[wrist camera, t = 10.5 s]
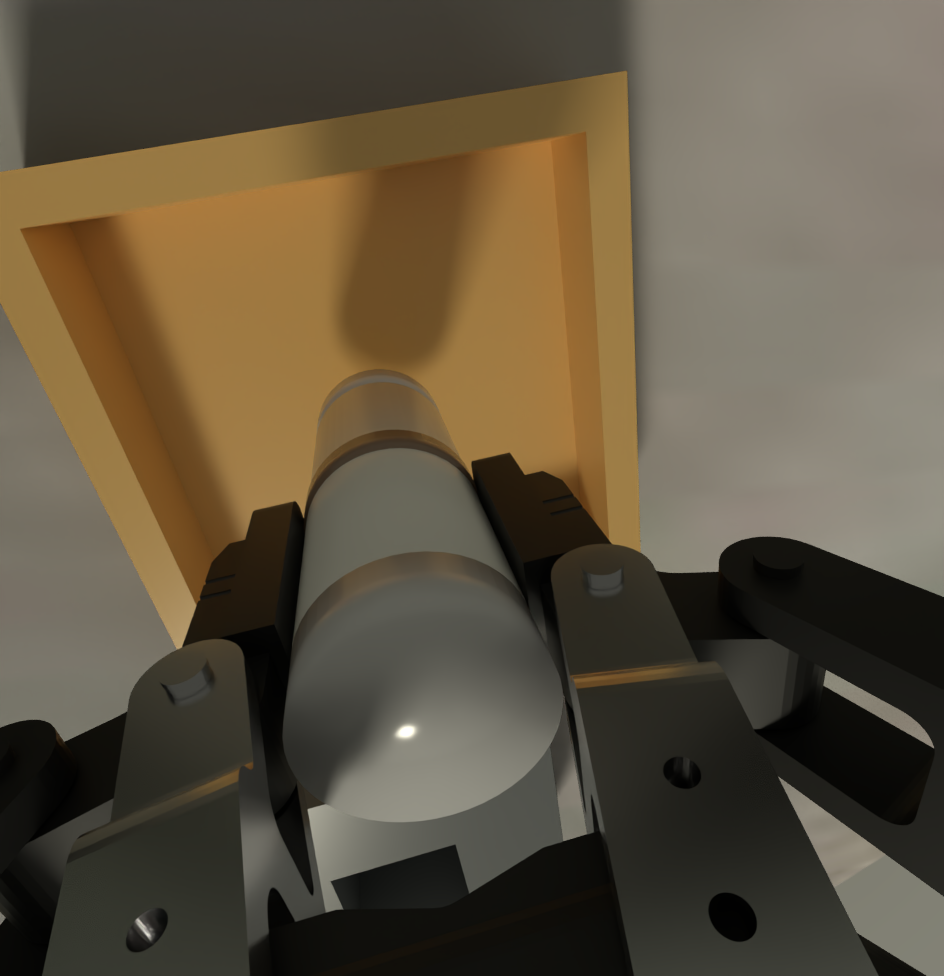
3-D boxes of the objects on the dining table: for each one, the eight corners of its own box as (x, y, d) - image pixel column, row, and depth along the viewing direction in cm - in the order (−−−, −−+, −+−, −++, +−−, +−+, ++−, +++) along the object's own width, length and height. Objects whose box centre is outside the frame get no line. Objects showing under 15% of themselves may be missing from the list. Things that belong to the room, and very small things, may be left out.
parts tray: (223, 626, 21) (203, 700, 18) (24, 185, 15) (-61, 181, 11) (599, 533, 22) (641, 587, 19) (571, 94, 16) (627, 70, 13)
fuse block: (297, 896, 28) (289, 1026, 24) (206, 720, 23) (173, 846, 18) (540, 824, 29) (576, 935, 25) (510, 640, 24) (549, 741, 19)
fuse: (334, 498, 16) (322, 854, 7) (300, 381, 15) (234, 654, 6) (452, 471, 17) (577, 782, 8) (430, 355, 15) (554, 575, 6)
